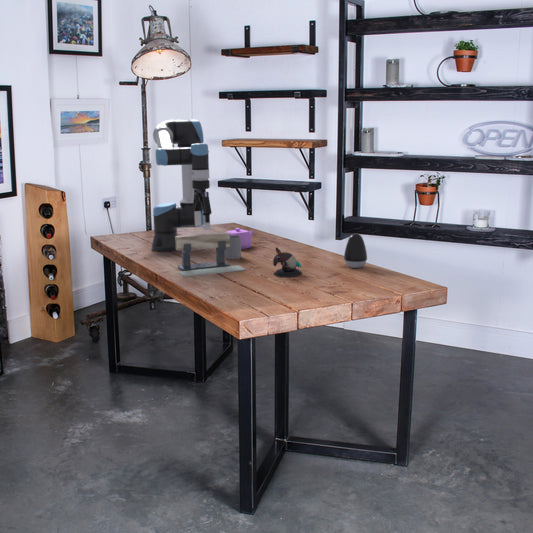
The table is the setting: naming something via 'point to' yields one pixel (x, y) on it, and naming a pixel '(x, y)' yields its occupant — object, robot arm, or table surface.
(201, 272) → the mat
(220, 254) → the rack
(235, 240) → the cup
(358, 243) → the black speaker
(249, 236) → the teapot
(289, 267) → the figurine
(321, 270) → the table surface
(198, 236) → the rail
